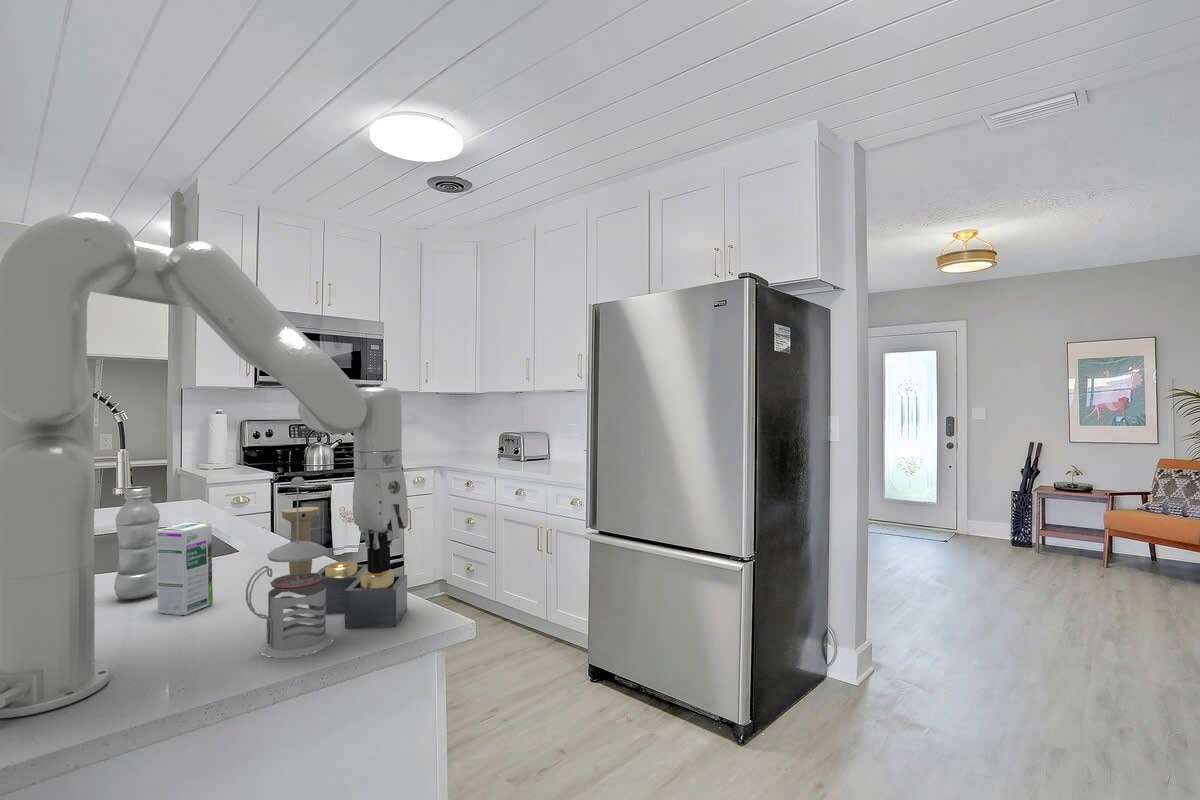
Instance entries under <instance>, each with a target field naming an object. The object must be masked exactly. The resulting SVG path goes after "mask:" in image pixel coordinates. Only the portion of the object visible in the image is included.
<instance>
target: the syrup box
mask: <svg viewBox="0 0 1200 800" xmlns="http://www.w3.org/2000/svg"><path fill="white" fill-rule="evenodd" d="M212 533H213V532H212V524H211V523H207V522H197V521H196V522H194V521H193V522H183V523H181V524H177V525H173V526H168V527H164V528H158V530H157V531H156V560H157V590H156V592H157V612H158V614H162V613H167V614H166V615H169V614H177V615H176V616H181V615H186V616H188V615H189V614H192V613H193V612H197V611H199V610H201V608H202V609H204V608H207V607H210V606H212V605H213V603H214V602H213V601H214V599H213V598H214V597H213V556H212V555H213V551H212V550H213V549H212V548H213V547H212V545H213V539H212V538H213V537H212V536H213V535H212ZM196 610H197V611H196ZM187 614H188V615H187Z"/></svg>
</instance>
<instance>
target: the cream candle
mask: <svg viewBox="0 0 1200 800" xmlns="http://www.w3.org/2000/svg"><path fill="white" fill-rule="evenodd" d="M357 565H358V563H357V562H355V561H345V560H344V561H336V562H331V563H329V564H326V565H324V566H325V577H329V576H354V575H355V574H356V573H357Z"/></svg>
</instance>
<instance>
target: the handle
mask: <svg viewBox="0 0 1200 800" xmlns="http://www.w3.org/2000/svg"><path fill="white" fill-rule="evenodd" d="M318 516H320V508H319V507H318V506H303V507H301V506H299V507H298V540H300V541H307V542H312V533H311V523H312V520H313V519H314V518H317V517H318ZM281 517H282V518H283V519H284V520H286V521H288V522H290V541H289V543H290V542H295V541H297V507H292V508H286V509H282V510H281ZM288 567H289V568H288V570H289V574H291V575H292V574H297V562H288ZM312 567H313V559H310V560H306V561H298V574H299V573H300V574H301V573H310V572H311V573H312V570H313V569H312Z"/></svg>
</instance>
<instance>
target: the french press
mask: <svg viewBox="0 0 1200 800" xmlns="http://www.w3.org/2000/svg"><path fill="white" fill-rule="evenodd" d="M305 481H306V480H305V479H304V478H303V477H302V476H296V477H293V478H292V479H291V481H290V485H291V486H296V508H297V541H295V542H290V541H289V542H287V543H285V544H283V545H279V546H277V547H275V548H274V549H272V550H271V551H269V553H267V555H266V556H267V559H268V560H269V561H271V562H274V563H289V562H297V574H292V575H291V574H290V573H288V574H285V575H281V576H279V577H276V578H274V579H272V581H271V582H270V585H271V587H272V589H270V591H268V592H267V604H268V605H267V614H263V613H258V612H257V611H256V610H255V608H254V606H253V604H252V591H253V589H254V586H255V584H256V582H257V580H258V579H259V578H260V577H261V576H262V575H263V574H265V573H266V575H267V576H268V577H269V578H272V577H273V569H272V568H269V566H267V565H264V566H262V567H261V568H259V569H258V570H256V571H255V572H254V573H253V574H252V576H250V579H249V580H248V582H247V585H246V588H245V602H246V604H247V607H248V608H249V610H250V612H251V613H253V614H254V615H255V616H257V617H258V618H259V619H263V620H266V642H265V643H264V644H263V645H262V646H261V648H260V649H261V651H260V654H261V653H263V654H265V655H267V656H270V657H274V658H273V659H278V658H282V659H293V657H295V658H300V657H303V656H302V655H305V656H307V655H306V654H310V655H312V654H314V653H313V652H315V651H318V652H320V651H319V650H321V651H323V650H324V649H326V648H327V647H326V646H328V645H329V646H331V645H330V643H331V642H332V643H333V641H334V639H333V636H332V635H331V634H330V633H329V632H327V631H326V630H327V623H326V622H327V613H326V586H325V585H324V584H322V583H320V582H321V581H322V580H323V579H324V577H323V575H321V574H318V573H317V572H312V571H311V572H310V573H301V574H300V573H299V574H298V561H306V560H310V559H312V560H314V559H318V558H322V557H324V555H326V554H327V552H328V549H327V547H325V546H323V545H321V544H320V543H317V542H313V541H311V542H307V541H300V540H298V508H299V486H304V485H305V484H306V483H305ZM264 569H265V570H264ZM262 570H263V571H262ZM260 571H262V572H260ZM259 572H260V573H259ZM257 574H258V575H257ZM256 575H257V576H256ZM255 576H256V578H255V579H254V577H255ZM253 579H254V580H253ZM252 581H253V582H252ZM251 582H252V584H251ZM250 585H251V588H250ZM249 588H250V590H249ZM281 593H292V594H296V595H300V596H299V597H296V596H295V597H294V596H291V595H285V596H284V595H283V596H280V597H277V596H278V595H280V594H281ZM299 605H304V606H306V605H308V606H309V605H313V606H316V608H312V609H309V607H308V608H307V607H306V608H305V607H301V606H299ZM288 609H289V611H287V612H284V610H288ZM300 614H301V615H300ZM306 615H314V616H306ZM286 618H291V619H290V620H284V619H286ZM305 623H307V624H305ZM332 640H333V641H332ZM332 643H331V644H332ZM329 646H328V647H329ZM325 647H326V648H325ZM322 649H323V650H322ZM311 653H312V654H311ZM315 653H316V652H315ZM299 656H300V657H299ZM288 657H290V658H288ZM291 657H292V658H291Z"/></svg>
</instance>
